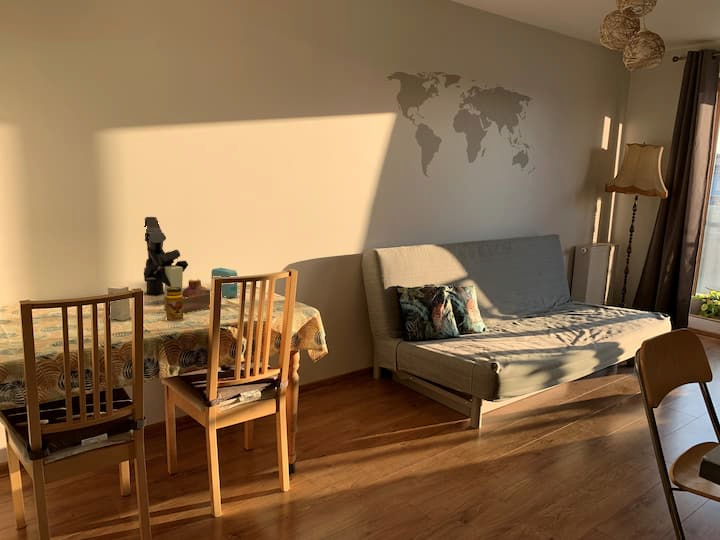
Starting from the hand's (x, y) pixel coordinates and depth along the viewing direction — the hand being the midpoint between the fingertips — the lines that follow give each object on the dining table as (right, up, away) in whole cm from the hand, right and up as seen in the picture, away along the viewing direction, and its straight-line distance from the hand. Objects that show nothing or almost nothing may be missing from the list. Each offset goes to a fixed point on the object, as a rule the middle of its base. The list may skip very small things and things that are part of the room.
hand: (175, 285), depth 243 cm
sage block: (-2, -6, +2) cm, 7 cm away
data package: (+16, -6, +19) cm, 25 cm away
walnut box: (+8, -9, -4) cm, 13 cm away
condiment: (+6, -12, -21) cm, 25 cm away
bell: (+3, -5, +19) cm, 20 cm away
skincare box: (-13, -12, -24) cm, 30 cm away
